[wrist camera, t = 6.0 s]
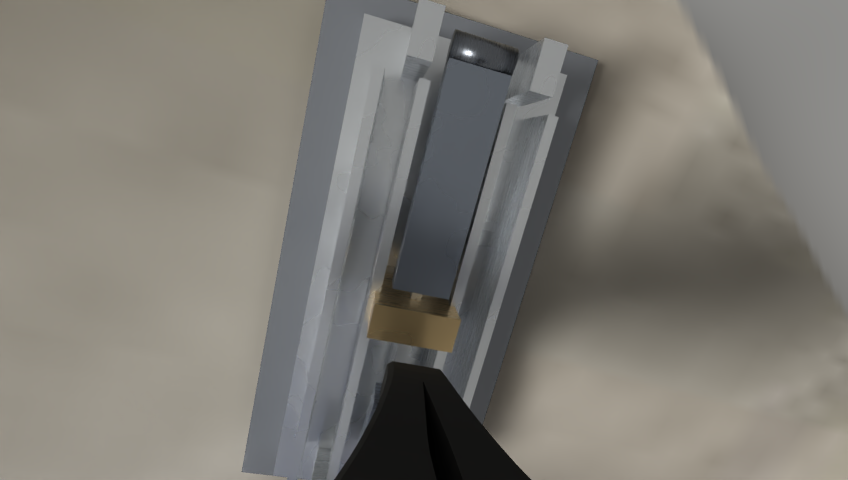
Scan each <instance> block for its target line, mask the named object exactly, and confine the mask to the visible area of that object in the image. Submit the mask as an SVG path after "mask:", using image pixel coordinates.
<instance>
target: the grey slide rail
mask: <svg viewBox="0 0 848 480" xmlns="http://www.w3.org/2000/svg"><path fill="white" fill-rule="evenodd" d="M445 7H446V6H444V5H441V4H438V3H435V2H432V1H429V0H419V2H418V6H417V10H416V14H415V18H414V22H413V26H412V28H411V27H408V26H405V25H401V24H398V23H395V22H392V21H388V20H385V19H382V18H378V17H375V16H372V15H369V14H365V13H364V18H363V23H362V28H361V33H360V38H359V44H358V49H357V54H356V59H355V64H354V69H353V74H352V79H351V84H350V89H349V94H348V99H347V104H346V109H345V114H344V119H343V124H342V129H341V134H340V139H339V144H338V149H337V155H336V160H335V165H334V170H333V175H332V180H331V185H330V190H329V195H328V200H327V205H326V210H325V215H324V220H323V225H322V230H321V235H320V240H319V245H318V250H317V255H316V260H315V265H314V271H313V276H312V281H311V286H310V291H309V296H308V301H307V306H306V311H305V316H304V321H303V326H302V331H301V336H300V341H299V346H298V351H297V356H296V361H295V366H294V371H293V376H292V382H291V387H290V392H289V397H288V402H287V407H286V412H285V417H284V422H283V427H282V432H281V437H280V442H279V447H278V452H277V457H276V462H275V467H274V472H273V476H282V477H288V478H287V480H297V479H298V478H299V479H307V480H334V479H335V477H336V476H337V475H338V473H339V472H340V470H341V469H342V467H343V466H344V464H345V463H346V461H347V460H348V458H349V457H350V455H351V454H352V452H353V450H354V449H355V447H356V445H357V443H358V440H359V436H360V433H361V430H362V427H363V423H364V420H365V417H366V413H367V410H368V407H369V404H370V400H371V397H372V394H373V390H374V387H375V384H376V382H377V383H382V382H383V378H384V374H385V370H386V366H387V364H388V363H390V362H392V361H395V362H401V363H407V364H413V365H419V366H425V367H430V368H436V369H440V370H441V371H442V372H443V373H444V375H445V376H446V377H447V379H448V380H449V381H450V383H451V384H452V386H453V387H454V388H455V390H456V391H457V392H458V394H459V395H460V396H461V398H462V399H463V401H464V402H465V403H466V405H467V406H468V407H469V408H470V405H471V402H472V398H473V395H474V392H475V389H476V385H477V382H478V379H479V376H480V372H481V369H482V366H483V363H484V359H485V356H486V353H487V350H488V346H489V343H490V340H491V337H492V333H493V330H494V327H495V323H496V320H497V317H498V314H499V310H500V307H501V304H502V301H503V297H504V294H505V291H506V288H507V284H508V281H509V278H510V275H511V271H512V268H513V265H514V262H515V258H516V255H517V252H518V248H519V245H520V242H521V239H522V235H523V232H524V229H525V226H526V222H527V219H528V216H529V213H530V209H531V206H532V203H533V200H534V196H535V193H536V190H537V187H538V183H539V180H540V177H541V174H542V170H543V167H544V164H545V160H546V157H547V154H548V151H549V147H550V144H551V141H552V138H553V134H554V131H555V128H556V125H557V121H558V118H559V117H556V116H555V114H556V110H557V107H558V104H559V101H560V97H561V94H562V91H563V87H564V84H565V81H566V78H567V75H565V74H562V73H560V72H561V68H562V65H563V62H564V58H565V55H566V52H567V48H568V45H567V44H564V43H561V42H558V41H555V40H551V39H548V38H543V39H542V40H540V41H539V42H537V43H536V44H534V45H533V46H531V47H530V48H528V49H527V50H525V51H524V52H522V53H521V54H519V56H518V61H517V64H516V67H515V70H514V72H513V74H512V78H511V82H510V85H509V89H508V92H507V96H506V99H505V103H504V106H503V110H502V113H501V117H500V120H499V124H498V128H497V131H496V135H495V138H494V142H493V145H492V149H491V152H490V156H489V159H488V163H487V166H486V170H485V174H484V177H483V181H482V184H481V188H480V191H479V195H478V198H477V202H476V205H475V209H474V212H473V216H472V220H471V223H470V227H469V230H468V234H467V237H466V241H465V244H464V248H463V251H462V255H461V258H460V262H459V266H458V269H457V273H456V276H455V280H454V283H453V287H452V290H451V294H450V297H449V300H448V299H443V298H438V297H432V296H427V295H422V294H417V293H412V292H407V291H402V290H397V289H393V287H392V279H393V275H394V271H395V267H396V263H397V259H398V255H399V251H400V247H401V243H402V239H403V235H404V230H405V226H406V222H407V218H408V214H409V210H410V206H411V202H412V198H413V194H414V190H415V186H416V181H417V177H418V173H419V169H420V165H421V161H422V157H423V153H424V149H425V145H426V141H427V137H428V132H429V128H430V124H431V120H432V116H433V112H434V108H435V104H436V100H437V96H438V92H439V88H440V83H441V79H442V75H443V71H444V67H445V63H446V58H447V53H448V49H449V45H450V42H451V39H447V38H444V37H441V36H439V32H440V28H441V24H442V20H443V15H444V11H445Z"/></svg>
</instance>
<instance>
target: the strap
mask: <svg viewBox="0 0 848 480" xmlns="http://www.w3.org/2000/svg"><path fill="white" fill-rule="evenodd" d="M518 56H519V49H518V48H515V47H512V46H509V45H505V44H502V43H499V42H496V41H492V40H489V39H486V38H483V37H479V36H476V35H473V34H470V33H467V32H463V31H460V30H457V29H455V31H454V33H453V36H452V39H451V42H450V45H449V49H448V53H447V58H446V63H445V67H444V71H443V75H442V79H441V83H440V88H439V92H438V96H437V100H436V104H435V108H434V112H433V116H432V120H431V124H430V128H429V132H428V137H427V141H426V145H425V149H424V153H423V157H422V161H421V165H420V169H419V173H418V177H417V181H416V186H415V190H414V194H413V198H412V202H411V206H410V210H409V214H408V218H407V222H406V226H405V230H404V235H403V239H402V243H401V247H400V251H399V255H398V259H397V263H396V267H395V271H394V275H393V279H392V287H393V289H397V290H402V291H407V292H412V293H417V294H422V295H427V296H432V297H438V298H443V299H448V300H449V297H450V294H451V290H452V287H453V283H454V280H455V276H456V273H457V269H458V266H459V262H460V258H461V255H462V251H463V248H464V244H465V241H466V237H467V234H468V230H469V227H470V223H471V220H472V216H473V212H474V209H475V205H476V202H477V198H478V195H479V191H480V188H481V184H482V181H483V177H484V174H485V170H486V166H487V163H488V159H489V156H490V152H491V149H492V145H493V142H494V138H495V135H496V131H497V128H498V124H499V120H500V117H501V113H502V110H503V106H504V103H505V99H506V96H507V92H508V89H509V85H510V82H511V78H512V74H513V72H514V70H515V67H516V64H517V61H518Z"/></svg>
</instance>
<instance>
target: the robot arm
mask: <svg viewBox="0 0 848 480" xmlns="http://www.w3.org/2000/svg"><path fill="white" fill-rule="evenodd" d="M334 480H531V479H530V478H529V477H528V476H527V475H526V474H525V473H524V472H523V471H522V470H521V469H520V468H519V467H518V466H517V465H516V463H515V462H514V461H513V460H512V459H511V458H510V457H509V456H508V455H507V453H506V452H505V451H504V450H503V449H502V448H501V447H500V445H499V444H498V443H497V442H496V441H495V440H494V439H493V437H492V436H491V435H490V434H489V433H488V431H487V430H486V429H485V428H484V426H483V425H482V424H481V423H480V421H479V420H478V419H477V418H476V416H475V415H474V414H473V412H472V411H471V410H470V409H469V407H468V406H467V405H466V403H465V402H464V401H463V399H462V398H461V396H460V395H459V394H458V392H457V391H456V390H455V388H454V387H453V386H452V384H451V383H450V381H449V380H448V379H447V377H446V376H445V375H444V373H443V372H442V371H441V370H440V369H436V368H430V367H425V366H419V365H413V364H407V363H401V362H395V361H392V362H390V363H388V364H387V366H386V370H385V374H384V378H383V382H382V386H381V390H380V398H379V402H378V405H377V407H376V410H375V412H374V414H373V416H372V418H371V420H370V422H369V424H368V426H367V427H366V429H365V431H364V433H363V435H362V437H361V439H360V440H359V442H358V444H357V445H356V447H355V449H354V450H353V452H352V454H351V455H350V457H349V458H348V460H347V461H346V463H345V464H344V466H343V467H342V469H341V470H340V472H339V473H338V475H337V476H336V477H335V479H334Z"/></svg>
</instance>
